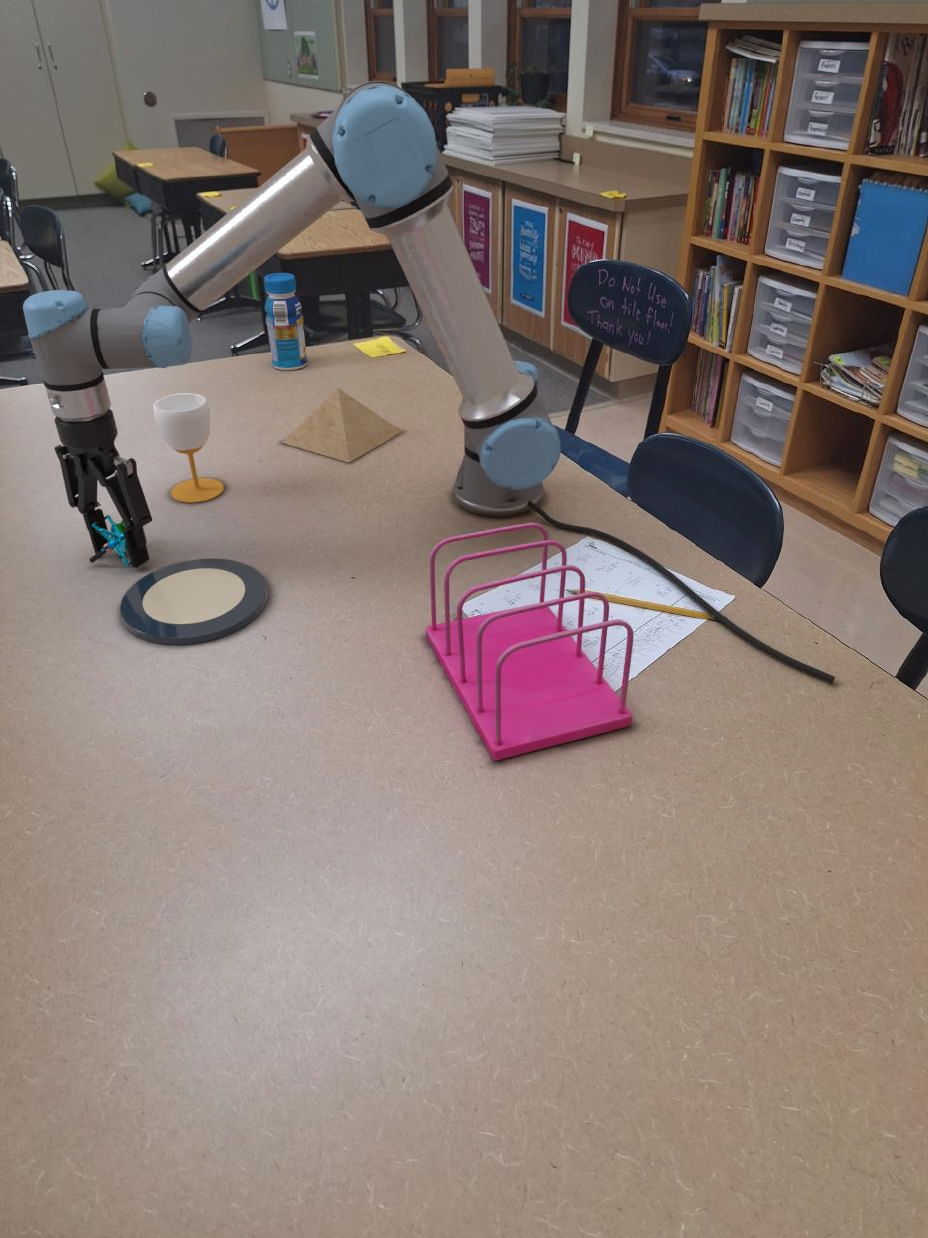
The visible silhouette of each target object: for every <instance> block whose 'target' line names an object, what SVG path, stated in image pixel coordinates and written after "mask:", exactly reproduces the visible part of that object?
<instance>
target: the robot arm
mask: <svg viewBox="0 0 928 1238" xmlns="http://www.w3.org/2000/svg"><path fill="white" fill-rule="evenodd" d="M436 137H437V136H436V133H435V129H434V127H433V124H432V121H431V119H430V118H429V116H428V114H427V112H426V111H425V109H424V108H423V107H422V105H420V103H419V102H418V101H417V100H416V99H414V97H412V96H411V95H410V94H409V93H408V92H407V91H405V89H403V88H401V87H400V86H399V85H396V84H393V83H391V82H388V81H382V80H373V81H367V82H364V83H361V84H359V85H358V86H356V87H354V88H353V89H352V90H350V91H349V92H348V93H347V94H346V95H345V97H344V98H343V99H342V100H341V101H340V103H339V104H338V105H337V106H336V108H335V109H334V110H333V111H332V112H331V113H330V114H328V116H327V117H326V118H325V119H324V120H323V121H322V123H320V124H319V125H318V126H317V127H316V128H315V129H314V130H313V131H311V132H310V133H308V134H307V137H306V145H305V148H304V149H303V150H302V151H301V152H299V153H298V154H297V155H296V156H295V157H293V158H292V159H291V160H290V161H289V162H288V163H285V165H284V166H283V167H281V168H280V169H279V170H278V171H277V172H276V173H274V174H273V175H272V176H271V177H270V178H269V179H267V180H266V181H265V182H264V183H262V184H261V185H260V186H259V187H257V188H256V189H255V190H253V192H252V193H251V194H249V195H248V196H247V197H246V198H244V199H243V200H242V201H241V202H240V203H238V204H237V205H236V206H235V207H233V208H232V209H231V210H229V212H228V213H226V214H224V216H223V217H221V218H220V219H219V220H218V221H217V222H216V223H214V224H213V225H212V226H210V227H209V229H207V230H206V231H205V232H204V233H202V234H201V235H200V236H199V237H197V238H196V239H195V240H194V241H193V242H191V243H190V244H189V245H188V246H187V247H186V248H184V249H183V250H182V251H181V252H179V253H178V254H176V256H174V257H173V258H172V259H171V260H169V262H167V263H166V264H165V266H163V267H162V268H160V269H159V270H158V271H157V272H155V273H154V274H153V275H150V276H148V277H146V278H145V279H143V280H142V281H140V282H139V284H138V285H137V286H136V287H135V288H134V291H133V293H132V295H131V297H130V299H128V301H127V303H126V304H125V306H124V307H114V308H95V307H94V308H93V307H91V308H89V306H88V303H86V301H85V298H84V295H82V294H81V293H80V292H78V291H76V290H67V289H54V290H46V291H40V292H37V293H34V294H32V295H30V296H29V297H27V298H26V299H25V300H24V302H23V305H22V311H23V315H24V319H25V324H26V327H27V333H28V334H27V337H28V339H29V340H30V344H31V347H32V350H33V353H34V356H35V359H36V362H37V365H38V369H39V372H40V375H41V378H42V382H43V386H44V387H45V392H46V395H47V399H48V402H49V406H50V409H51V412H52V414H53V415H54V416H55V418H54V425H55V427H56V431H57V434H58V437H59V441H60V443H61V444H58V445H57V446H54V452H55V454H56V456H57V459H58V461H59V463H60V470H61V473H62V478H63V484H64V488H65V492H66V496H67V502H68V505H69V506H70V507H71V508H72V509H74V508H77V510H78V512H79V514H80V515H82V517H83V521H84V524H85V527H86V530H87V531H88V533H89V538H90V540H91V544H92V547H93V550H94V555H95V554H97V553H98V552H99V551H100V550H101V549H102V548H104V545H105V544H106V543H107V542H109V541H108V540H107V539H106V538H105V537H104V536H103V535H101V534H98V533H97V532H98V531H97V530H96V529H95V528H94V527H93V526H92V524H94V523H95V522H96V521H97V522H98V524H97V526H98V527H99V528H100V529H102V528H103V529H106V530H108V531H109V529H108V526H107V522H106V520H104V517H105V515H104V511H103V509H102V508H99V507H100V506H101V505H102V503H100V502H99V501H98V486H99V485H100V486H101V487H103V488H105V490H106V491H107V493H108V495H109V497H110V499H111V501H112V503H113V505H114V507H115V508H116V510H117V512H118V514H119V517H120V518H121V521H122V520H123V522H124V524H125V525H126V527H124V528H122V529H123V533H124V537H125V541H126V544H127V548H128V550H127V552H128V556H129V559H130V561H131V563H132V564H131V567H132V568H135V569H137V568H139V567H140V566H142V565H144V564H145V563H147V562H149V561H150V560H151V559H150V555H149V551H148V546H147V543H148V541H147V537H146V534H145V529H144V527H145V526H146V525H149V524H150V523H152V522H153V517H152V514H151V511H150V508H149V505H148V502H147V499H146V496H145V493H144V490H143V487H142V484H141V480H140V478H139V476H138V475H139V474H138V467H137V461H136V459H134V458H133V457H130V458H128V459H126V458H124V457H121V455H120V452H119V451H118V449H117V447H116V445H115V441H116V439H117V436H118V434H119V433H118V427H117V423H116V420H115V419H116V418H115V415H114V411H113V410H112V409H111V406H112V401H111V397H110V394H109V390H108V386H107V384H106V379H105V375H104V372H103V370H116V369H117V370H119V369H147V368H158V369H167V368H171V367H178V366H185V365H187V364H188V363H189V362H190V360H191V358H192V349H193V344H192V343H193V342H192V334H191V328H190V323H191V322H192V321H193V320H195V318H197V317H199V315H200V314H201V313H203V312H204V311H205V310H206V309H207V308H208V307H209V306H211V305H212V304H213V303H214V302H216V301H218V299H220V298H221V297H222V296H224V295H225V294H226V293H228V291H230V290H231V289H232V288H234V287H235V286H236V285H237V284H239V283H240V282H241V281H243V279H245V278H246V277H248V275H250V274H251V273H253V271H255V270H256V269H257V268H259V267H260V266H261V265H263V264H264V263H265V262H266V261H268V260H269V259H270V258H271V257H273V256H274V255H275V254H276V253H278V251H280V250H282V249H283V248H284V247H285V246H286V245H288V244H289V243H290V242H292V241H293V240H294V239H295V238H297V236H299V235H300V234H301V233H303V232H304V231H305V230H306V229H308V228H309V227H310V226H311V225H313V224H314V223H315V222H317V221H318V220H319V219H320V218H322V217H323V216H324V215H326V214H327V213H328V212H329V211H330V210H332V209H333V208H334V207H336V206H337V205H338V204H339V203H340V202H350V203H353V202H356V203H357V205H358V207H359V209H360V211H361V213H362V215H363V218H364V219H365V222H366V223H367V224H366V225H368V229H369V230H370V231H372V232H375V233H376V234H380V235H383V236H384V237H386V238H387V239H388V242H389V244H390V247H391V249H392V250H393V252H394V255H395V257H396V259H397V261H398V263H399V265H400V267H401V270H402V272H403V274H404V276H405V278H406V280H407V283H408V285H409V287H410V289H411V291H412V293H413V295H414V297H415V300H416V301H417V304H418V305H419V307H420V311H421V312H422V314H423V316H424V318H425V321H426V322H427V325H428V327H429V330H430V331H431V333H432V335H433V337H434V340H435V342H436V344H437V346H438V348H439V351H440V352H441V355H442V357H443V359H444V361H445V363H446V365H447V367H448V369H449V372H450V373H451V376H452V378H453V380H454V382H455V384H456V386H457V388H458V390H459V392H460V394H461V397H462V400H461V402H460V404H459V406H458V415H459V417H460V420H461V421H462V425H463V426H464V427H463V428H464V429H463V431H464V433H463V434H464V435H463V437H464V438H463V439H464V442H463V446H464V449H463V450H464V452H463V453H464V454H463V457H462V460H461V463H460V465H459V468H458V471H457V474H456V478H455V481H454V483H453V500H454V501H455V503H456V504H457V505H458V506H459V507H460V508H461V509H462V510H464V511H467V512H469V513H471V514H473V515H477V516H482V517H489V518H510V517H517V516H522V515H525V514H528V513H530V512H532V511H535V512H536V513H537V514H538V515H539V516H540V517H542V518H543V520H544V521H546V522H547V523H549V524H550V525H553V526H555V527H557V528H560V529H564V530H568V531H573V532H579V533H585V534H589V535H590V534H591V535H594V536H597V537H600V538H602V539H605V540H607V541H610V542H612V543H614V544H616V545H618V546H619V547H621V548H623V549H625V550H627V551H628V552H630V553H632V554H633V555H635V556H637V557H638V558H640V559H642V560H643V561H645V562H646V563H648V564H649V565H651V567H653V568H654V569H656V570H658V572H660V573H661V574H662V575H663V576H665V577H666V578H667V579H669V580H670V581H671V582H673V583H674V584H675V585H676V586H677V587H678V588H680V590H682V591H683V592H684V593H685V594H686V595H688V596H689V597H690V598H691V599H692V600H693V601H695V602H696V603H697V604H698V605H700V606H701V607H702V608H703V609H704V610H706V611H707V612H708V613H709V614H710V615H712V617H714V618H715V619H716V620H718V621H719V622H720V623H721V624H723V625H724V626H725V627H726V628H727V629H729V630H731V631H732V632H734V633H735V634H736V635H738V636H739V637H741V638H742V639H743V640H745V641H747V642H748V643H750V644H751V645H752V646H754V647H756V648H758V649H759V650H762V651H763V652H765V653H767V654H769V655H770V656H772V657H774V658H775V659H778V660H779V661H781V662H783V663H785V664H788V665H790V666H792V667H794V668H795V669H799V670H801V671H802V672H805V673H808V674H810V675H812V676H815V677H818V678H819V679H821V680H823V681H824V680H825V681H827V682H829V683H833V682H834V681H835V679H836V676H834V675H832V674H830V673H828V672H825V671H822V670H821V669H818V668H816V667H813V666H811V665H808V664H806V663H804V662H801V661H800V660H797V659H795V658H793V657H790V656H788V655H787V654H784V653H782V652H780V651H779V650H777V649H775V648H773V647H771V646H770V645H768V644H766V643H764V642H762V641H761V640H759V639H758V638H756V637H754V636H753V635H752V634H750V633H748V632H747V631H745V630H744V629H742V628H741V627H739V625H736V624H735V623H734V622H733V621H731V620H730V619H728V618H727V617H725V616H724V615H723V613H721V612H719V611H718V610H717V609H716V608H714V607H713V606H712V605H711V604H709V603H708V602H707V601H706V600H705V599H704V598H702V597H701V596H700V595H699V594H698V593H696V592H695V591H694V590H693V589H691V588H690V587H689V586H688V585H687V584H686V583H685V582H684V581H682V580H681V579H680V578H679V577H678V576H676V575H675V574H674V573H673V572H671V571H670V570H669V569H667V568H666V567H664V565H662V564H660V563H659V562H658V561H656V560H655V559H654V558H653V557H651V556H649V555H648V554H647V553H644V551H642V550H639V549H638V548H636V547H634V546H632V545H631V544H629V543H627V542H626V541H624V540H622V539H620V538H618V537H616V536H614V535H611V534H609V533H607V532H604V531H602V530H598V529H595V528H591V527H588V526H587V527H586V526H580V525H575V524H574V525H573V524H569V523H564V522H561V521H558V520H556V519H555V518H552V517H551V516H550V515H549V514H548V513H546V511H544V510H543V509H542V508H541V507H539V506H540V505H541V504H542V502H543V500H544V484H543V481H544V480H545V479H547V478H548V477H549V476H550V475H551V474H552V473H553V471H554V470H555V468H556V466H557V465H558V463H559V460H560V457H561V452H562V450H561V449H562V447H561V438H560V434H559V431H558V429H557V427H555V426H554V424H553V422H552V421H551V418H550V416H549V413H548V412H547V409H546V406H545V404H544V402H543V399H542V397H541V394H540V392H539V388H538V387H539V383H540V379H539V371H538V368H537V366H535V365H534V364H532V363H530V362H528V361H527V362H526V361H522V360H514V358H513V355H512V353H511V351H510V348H509V346H508V344H507V341H506V339H505V336H504V334H503V332H502V329H501V327H500V325H499V322H498V320H497V317H496V315H495V313H494V310H493V308H492V306H491V304H490V301H489V298H488V296H487V294H486V291H485V289H484V287H483V285H482V281H481V279H480V277H479V275H478V272H477V270H476V267H475V265H474V263H473V261H472V259H471V255H470V253H469V252H468V248H467V247H466V246H467V245H466V244H465V242H464V239H463V237H462V234H461V233H460V230H459V227H458V225H457V222H456V220H455V218H454V215H453V213H452V211H451V208H450V205H449V204H450V200H451V196H452V194H453V190H454V184H453V181H452V179H451V175H450V173H449V171H448V168H447V166H446V164H445V161H444V159H443V157H442V154H441V151H440V149H439V146H438V142H437V141H436ZM98 482H99V483H98ZM98 484H99V485H98ZM107 535H108V534H107ZM108 536H110V535H108Z"/></svg>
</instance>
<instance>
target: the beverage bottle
mask: <svg viewBox="0 0 928 1238" xmlns="http://www.w3.org/2000/svg"><path fill="white" fill-rule="evenodd" d="M263 279H264V280H263V281H264V289H265V292H266V294H268V296H267V297H266V300H265V304H264V311H265V313H266V316H265V325H266V327H267V334H268V341H269V348H270V355H271V364H272V367H273V368H275V370H276V369H277V370H280V371H295V370H296V371H297V370H299V369H303V368H305V367H306V366H307V364H308V357H307V356H308V355H307V348H306V339H305V337H306V336H305V329H304V322H305V321H304V316H303V314H302V304H301V301H300V299H299V298H298V296H297V295H296V294H295V293H296V291H297V283H296V276H295V275H294V274H292V273H288V272H276V273H269V274H267V275H265V276H264V278H263Z"/></svg>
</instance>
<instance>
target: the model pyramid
mask: <svg viewBox="0 0 928 1238" xmlns="http://www.w3.org/2000/svg"><path fill="white" fill-rule="evenodd" d="M402 432H403V431H402V430H400V429H399V428H398V427H396V426H394V425H393V424H392V423H391V422H389V421H388V420H386V419H385V418H383V417H382V416H380V415H379V414H377V413H376V412H374V411H372V410H371V409H370V408H368V407H367V406H365V405H364V404H363V403H361V402H360V401H358V400H357V399H355V398H354V397H352V395H351V396H350V395H349V394H348V393H346V392H345V391H344V390H342V389H341V388H339V387H337V389H335V390H334V391H333V392H332V393H331V394H330V395H329V396H328V397H327V398H326V399H325V400H324V401H323V402H322V403H321V404H320V405H319V406H318V407H317V408H316V409H314V411H312V413H311V414H310V415H309V416H307V418H305V420H303V421H302V423H300V424H299V425H298V426H297V427H296V428H295V429H294V430H293V431H292V432H291V433H290V434H289V435H288V436H287V437H286V438H285V439H284V440H282V442H281V443H282V444H285V445H287V446H292V447H295V448H298V449H302V450H305V451H309V452H312V453H315V454H319V455H322V456H326V457H329V458H333V459H336V460H339V461H343V462H346V463H351V462H353V461H354V460H356V459H358V458H360V457H362V456H363V455H365V454H367V453H368V452H370V451H372V450H373V449H375V448H377V447H378V446H380V445H382V444H384V443H385V442H387V441H389V440H391V439H392V438H394V437H396V436H398V435H399V434H401V433H402Z"/></svg>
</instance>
